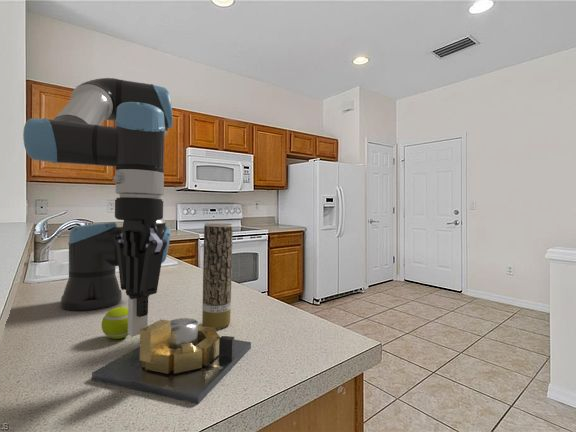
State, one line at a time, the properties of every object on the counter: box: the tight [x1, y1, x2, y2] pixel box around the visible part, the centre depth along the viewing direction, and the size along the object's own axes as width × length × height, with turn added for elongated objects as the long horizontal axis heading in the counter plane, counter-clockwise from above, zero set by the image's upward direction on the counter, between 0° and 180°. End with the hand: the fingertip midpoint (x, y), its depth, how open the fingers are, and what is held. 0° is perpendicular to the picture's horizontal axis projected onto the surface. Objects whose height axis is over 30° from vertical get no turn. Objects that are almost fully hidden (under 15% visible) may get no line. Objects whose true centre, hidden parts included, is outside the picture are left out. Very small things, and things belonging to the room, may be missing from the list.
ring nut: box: [139, 319, 221, 374], centre depth 58 cm, size 16×13×8 cm
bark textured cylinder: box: [201, 222, 234, 330], centre depth 78 cm, size 7×7×25 cm
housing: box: [91, 317, 252, 405], centre depth 60 cm, size 20×20×7 cm
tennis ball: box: [101, 306, 129, 340], centre depth 70 cm, size 7×7×7 cm
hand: (137, 333), depth 55 cm, fingers closed
